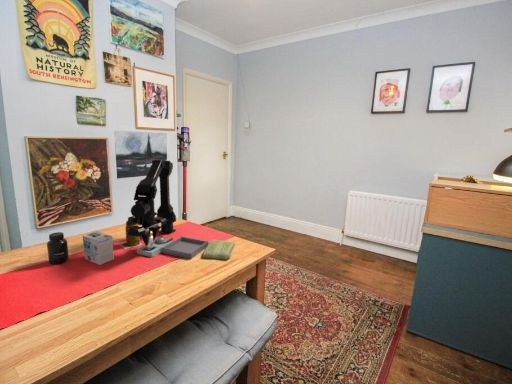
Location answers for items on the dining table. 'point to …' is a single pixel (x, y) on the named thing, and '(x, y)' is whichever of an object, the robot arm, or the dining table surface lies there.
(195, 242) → the tray
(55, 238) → the supplement bottle
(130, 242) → the condiment
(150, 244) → the lock pin
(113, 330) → the dining table surface
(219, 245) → the washcloth
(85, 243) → the light bulb box
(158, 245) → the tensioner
